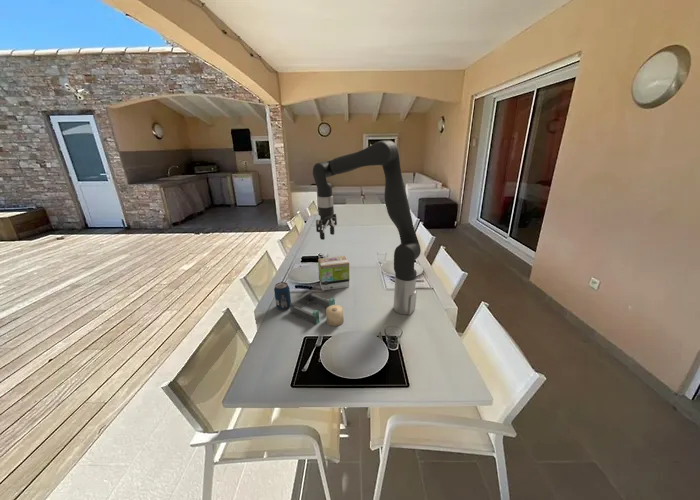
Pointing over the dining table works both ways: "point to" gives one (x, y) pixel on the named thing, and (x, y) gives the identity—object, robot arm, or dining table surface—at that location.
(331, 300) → the holder
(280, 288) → the soda can
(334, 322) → the beige round fruit
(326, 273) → the tea box
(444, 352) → the dining table surface
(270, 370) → the dining table surface
